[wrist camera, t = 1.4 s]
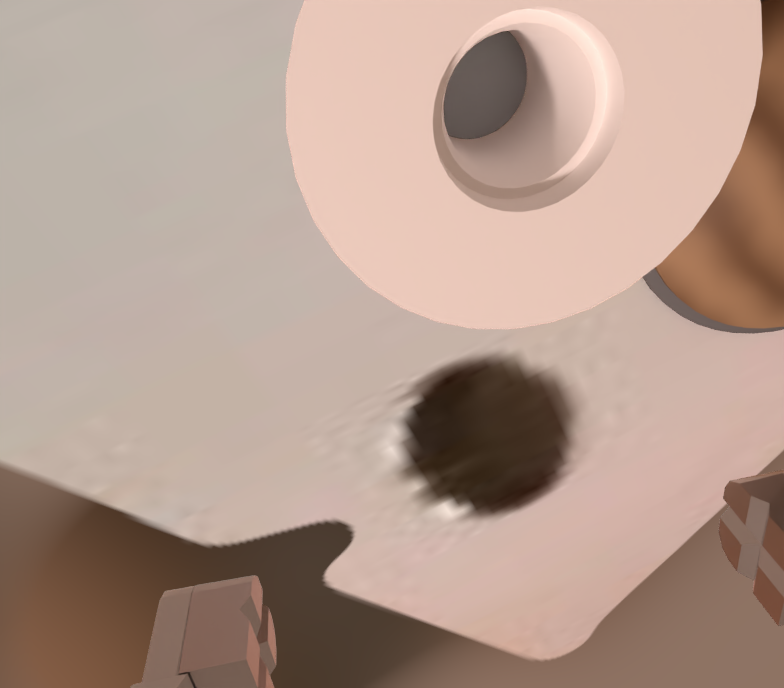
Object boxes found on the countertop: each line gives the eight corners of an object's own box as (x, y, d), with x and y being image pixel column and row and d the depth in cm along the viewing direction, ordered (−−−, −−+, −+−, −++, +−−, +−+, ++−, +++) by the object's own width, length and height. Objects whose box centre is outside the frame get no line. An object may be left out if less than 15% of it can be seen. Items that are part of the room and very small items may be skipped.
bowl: (423, 312, 51) (456, 399, 41) (204, 36, 40) (173, 59, 29) (701, 120, 46) (819, 163, 36) (543, -254, 35) (649, -348, 25)
